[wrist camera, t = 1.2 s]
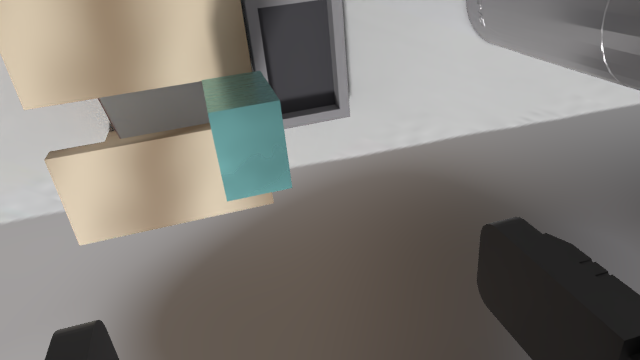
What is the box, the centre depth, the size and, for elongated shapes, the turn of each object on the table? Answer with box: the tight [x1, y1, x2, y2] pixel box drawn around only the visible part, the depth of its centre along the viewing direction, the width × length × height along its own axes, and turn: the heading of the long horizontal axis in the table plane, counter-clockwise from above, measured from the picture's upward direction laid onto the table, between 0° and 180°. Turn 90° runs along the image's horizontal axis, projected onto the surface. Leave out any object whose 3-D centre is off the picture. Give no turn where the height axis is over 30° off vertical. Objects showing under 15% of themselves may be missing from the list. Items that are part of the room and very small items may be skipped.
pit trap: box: [242, 0, 350, 129], centre depth 36 cm, size 7×10×2 cm
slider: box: [202, 71, 292, 202], centre depth 26 cm, size 2×9×20 cm, turn 6°
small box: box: [98, 81, 210, 139], centre depth 29 cm, size 8×6×10 cm
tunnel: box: [0, 0, 274, 245], centre depth 28 cm, size 10×12×14 cm
